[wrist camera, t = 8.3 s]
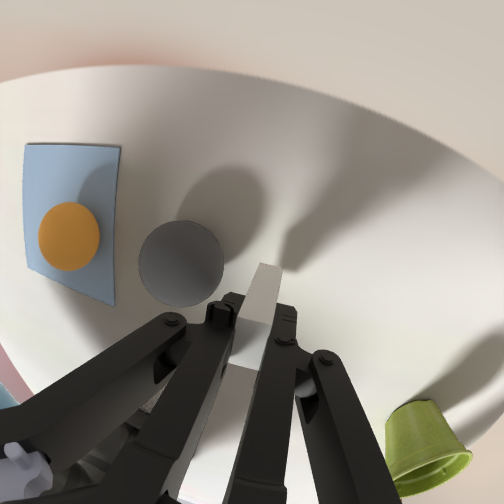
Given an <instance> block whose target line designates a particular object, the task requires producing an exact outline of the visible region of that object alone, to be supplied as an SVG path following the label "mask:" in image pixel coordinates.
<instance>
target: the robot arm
mask: <svg viewBox="0 0 504 504" xmlns="http://www.w3.org/2000/svg"><path fill="white" fill-rule="evenodd" d="M282 272H283V268H281V267H277V266H272V265H268V264H264V263H260V264H259V266H258V268H257V271H256V273H255V276H254V278H253V280H252V283H251V285H250V287H249V290H248V292H247V295H246V296H244V295H241V294H237V293H233V292H229V293H228V294H226V295H224V297H223V298H222V301H213V302H210V303H209V304H208V305H207V311H206V318H205V322H204V323H203V324H188V323H186V322H187V320H186V319H185V317H184V316H182V315H181V314H178V313H174V312H166V313H163V314H160V315H159V316H157V317H156V318H154V319H153V320H151V321H149V322H148V323H146V324H145V325H143V326H142V327H140V328H139V329H137V330H135V331H134V332H132V333H131V334H129V335H128V336H126V337H125V338H123V339H122V340H120V341H118V342H117V343H115V344H114V345H112V346H111V347H109V348H108V349H106V350H104V351H103V352H101V353H100V354H98V355H97V356H95V357H94V358H92V359H90V360H89V361H87V362H86V363H84V364H83V365H81V366H80V367H78V368H76V369H75V370H73V371H72V372H70V373H69V374H67V375H66V376H64V377H62V378H61V379H59V380H58V381H56V382H55V383H53V384H52V385H50V386H48V387H47V388H45V389H44V390H42V391H41V392H39V393H37V394H36V395H34V396H33V397H31V398H30V399H28V400H27V401H25V402H23V403H22V404H20V403H18V402H17V401H16V400H15V398H14V397H13V396H12V395H11V394H10V392H9V391H8V390H7V389H6V388H5V386H4V385H3V384H2V383H1V382H0V504H181V503H180V502H178V501H177V497H178V494H179V490H180V487H181V484H182V481H183V479H184V476H185V474H186V472H187V469H188V467H189V464H190V462H191V459H192V457H193V454H194V451H195V449H196V446H197V444H198V441H199V439H200V436H201V434H202V431H203V429H204V426H205V423H206V421H207V418H208V416H209V413H210V411H211V408H212V405H213V403H214V400H215V398H216V395H217V392H218V390H219V387H220V385H221V382H222V379H223V377H224V374H225V371H226V367H227V362H228V363H231V364H234V365H238V366H242V367H246V368H250V369H254V370H258V375H257V378H256V381H255V385H254V388H253V389H254V390H253V394H252V398H251V402H250V406H249V410H248V414H247V417H246V421H245V425H244V429H243V433H242V436H241V440H240V444H239V447H238V451H237V455H236V458H235V462H234V465H233V469H232V472H231V476H230V479H229V483H228V486H227V489H226V493H225V496H224V499H223V502H222V504H286V499H287V488H286V487H285V486H284V478H285V470H286V463H287V455H288V447H289V438H290V430H291V420H292V410H293V400H294V395H295V401H296V405H297V409H298V414H299V418H300V422H301V426H302V431H303V435H304V439H305V444H306V448H307V452H308V457H309V461H310V465H311V470H312V474H313V479H314V483H315V487H316V492H317V496H318V501H319V504H402V502H401V500H400V497H399V494H398V492H397V489H396V487H395V484H394V482H393V479H392V477H391V474H390V472H389V469H388V467H387V464H386V462H385V459H384V457H383V454H382V452H381V450H380V447H379V445H378V442H377V440H376V438H375V435H374V433H373V431H372V428H371V426H370V424H369V421H368V419H367V417H366V414H365V412H364V410H363V407H362V405H361V403H360V401H359V398H358V396H357V394H356V392H355V389H354V387H353V385H352V383H351V381H350V378H349V376H348V374H347V372H346V370H345V367H344V365H343V363H342V361H341V359H340V358H339V356H338V355H336V354H335V353H333V352H331V351H329V350H317V351H315V352H314V353H313V354H311V353H308V352H306V351H304V350H303V349H301V348H300V347H299V346H298V342H297V340H296V325H297V311H296V310H295V308H294V307H293V306H288V305H284V304H280V303H277V298H278V293H279V288H280V283H281V277H282ZM228 360H229V361H228ZM167 383H168V384H167ZM166 384H167V386H166V387H165V389H164V391H163V393H162V394H161V396H160V398H159V399H158V401H157V403H156V404H155V406H154V408H153V409H152V411H151V413H150V415H147V414H146V413H144V412H142V411H140V410H138V409H139V408H140V407H141V406H142V405H144V404H145V403H146V402H147V401H148V400H149V399H150V398H151V397H152V396H154V395H155V394H156V393H157V392H158V391H159V390H160V389H161V388H162V387H163V386H164V385H166Z"/></svg>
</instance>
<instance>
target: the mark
mask: <svg viewBox="0 0 504 504" xmlns="http://www.w3.org/2000/svg"><path fill="white" fill-rule="evenodd" d="M119 156H120V148H116V147H101V146H81V145H25V150H24V163H23V226H24V239H25V250H26V258H27V266H28V268H30V269H32V270H34V271H36V272H38V273H40V274H42V275H44V276H46V277H48V278H50V279H52V280H54V281H56V282H58V283H60V284H62V285H65V286H67V287H69V288H71V289H73V290H76V291H78V292H80V293H82V294H85V295H87V296H89V297H92V298H94V299H96V300H99V301H101V302H104V303H106V304H108V305H111V306H113V307H114V306H115V295H114V264H113V242H114V212H115V196H116V183H117V173H118V164H119ZM64 202H74V203H78V204H81V205H83V206H85V207H86V208H87V209H89V211H90V212H91V213H92V214H93V215H94V217H95V219H96V221H97V223H98V227H99V232H100V239H99V245H98V249H97V251H96V253H95V255H94V257H93V258H92V259H91V261H90V262H89V263H88V264H86V265H85V266H84V267H82V268H80V269H77V270H74V271H63V270H59V269H57V268H55V267H53V266H51V265H50V264H49V263H48V262H47V261H46V260H45V258H44V257H43V255H42V253H41V251H40V248H39V244H38V230H39V226H40V223H41V221H42V219H43V217H44V216H45V214H46V213H47V212H48V211H49V210H50V209H51V208H53V207H54V206H56V205H58V204H60V203H64Z"/></svg>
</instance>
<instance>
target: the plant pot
mask: <svg viewBox="0 0 504 504" xmlns="http://www.w3.org/2000/svg"><path fill="white" fill-rule="evenodd" d="M385 443H386V451H385V462H386V464H387V467H388V469H389V472H390V474H391V477H392V479H393V482H394V484H395V487H396V489H397V492H398V494H399V497H400V499H401V498H406V497H410V496H414V495H417V494H420V493H423V492H426V491H429V490H431V489H433V488H435V487H438V486H440V485H442V484H444V483H445V482H447V481H449V480H450V479H452V478H453V477H455V476H456V475H458V474H459V473H460V472H461V471H463V470H464V469H465V468H466V467H467V466H468V465H469V463H470V462H471V460H472V458H473V454H472V452H471V451H469V450H466V449H465V447H464V445H463V444H462V443H460V442H459V441H458V439H457V438H456V436H455V435H454V433H453V431H452V430H451V428H450V426H449V425H448V423H447V421H446V420H445V418H444V416H443V415H442V413H441V411H440V410H439V408H438V406H437V405H436V403H435V402H434V401H432V400H428V401H419V400H417V401H413V402H411V403H408V404H406V405H404V406H402V407H400V408H399V409H397V410H396V411H395V412H393V413H392V414H391V416H390V418H389V420H388V421H387V422H386V424H385Z"/></svg>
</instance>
